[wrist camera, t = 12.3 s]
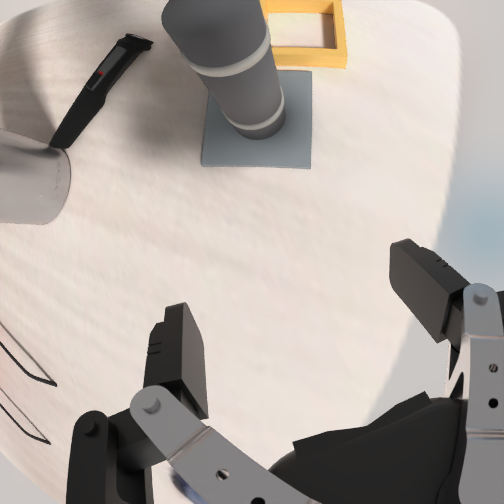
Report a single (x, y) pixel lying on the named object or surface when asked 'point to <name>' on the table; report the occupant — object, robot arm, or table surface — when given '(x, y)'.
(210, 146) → the slate mat
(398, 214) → the table surface
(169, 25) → the dark grey banded cylinder
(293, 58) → the yellow square frame
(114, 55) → the electric trimmer
